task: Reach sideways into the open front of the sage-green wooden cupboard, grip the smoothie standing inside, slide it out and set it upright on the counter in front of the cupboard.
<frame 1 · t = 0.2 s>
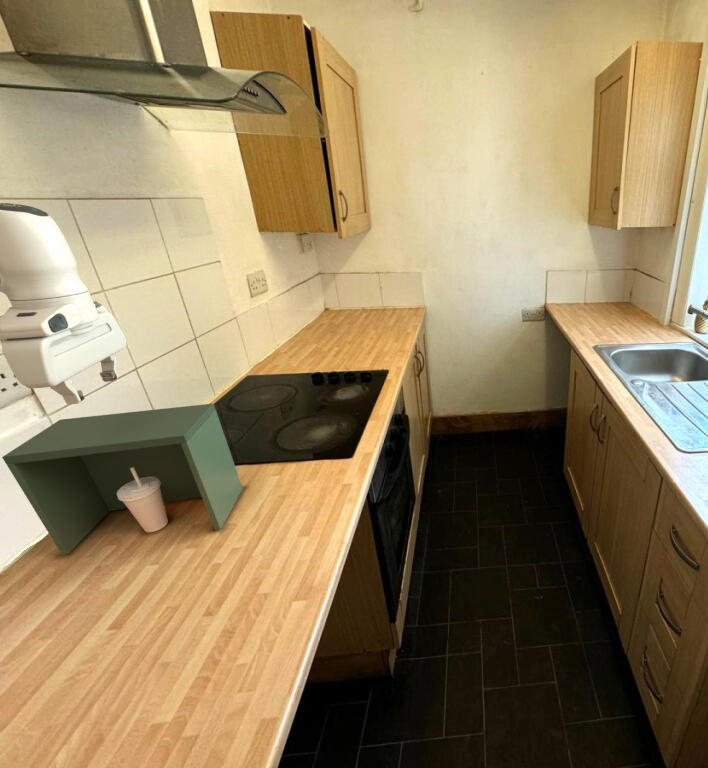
hand: (95, 390, 72), 29 cm above the table, tool pointing down, fingers open, 8 cm apart
cupboard: (161, 518, 85), on the table
smoothie: (156, 526, 83), on the table
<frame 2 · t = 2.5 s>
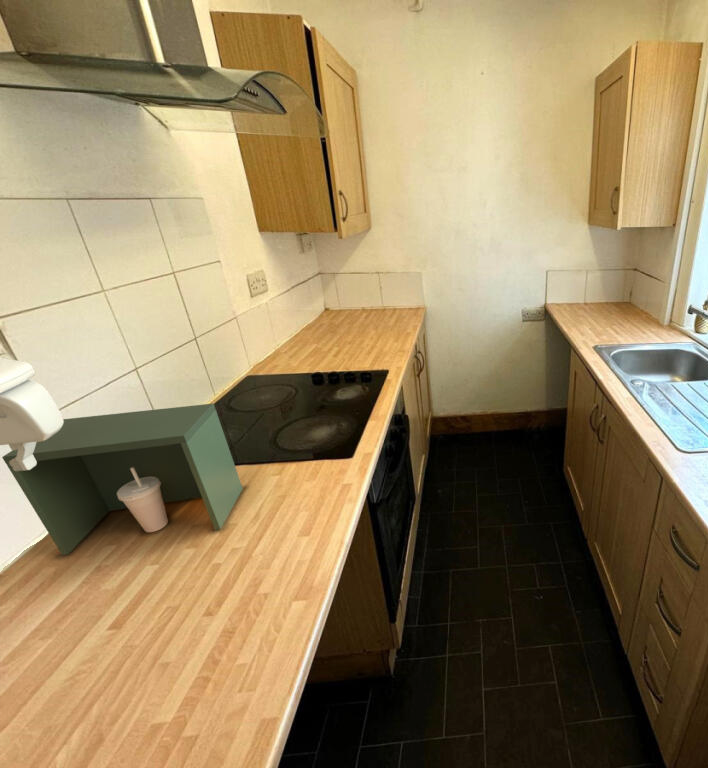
nothing on the table moved.
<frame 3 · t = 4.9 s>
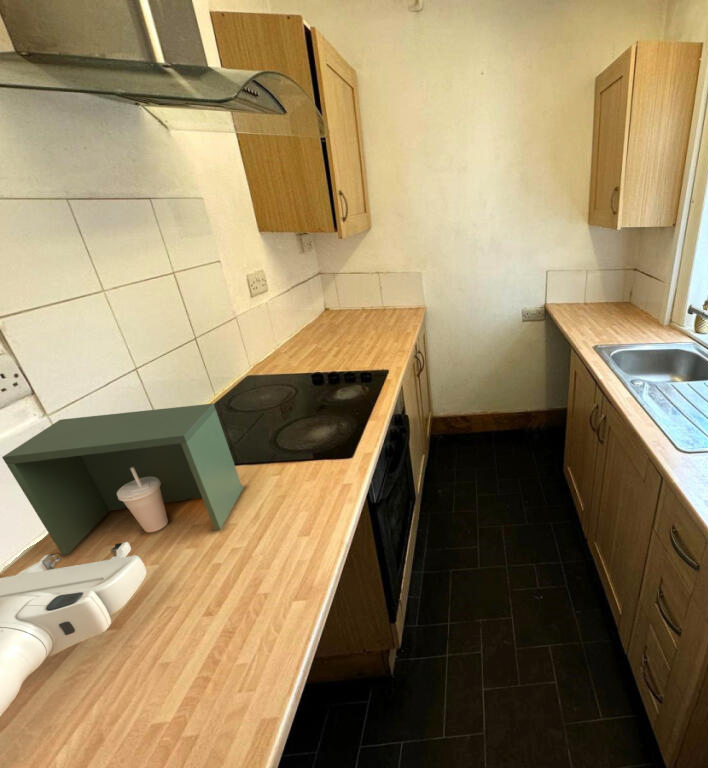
hand: (90, 551, 66), 8 cm above the table, tool horizontal, fingers open, 8 cm apart
nothing on the table moved.
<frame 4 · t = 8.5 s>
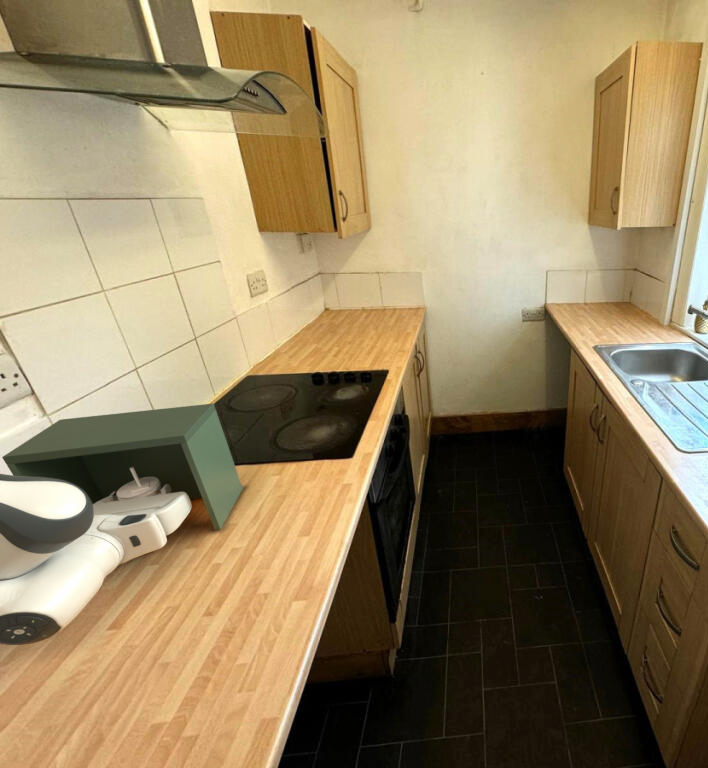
hand: (143, 490, 80), 8 cm above the table, tool horizontal, fingers closed on smoothie, 6 cm apart
smoothie: (156, 526, 83), on the table, touching gripper
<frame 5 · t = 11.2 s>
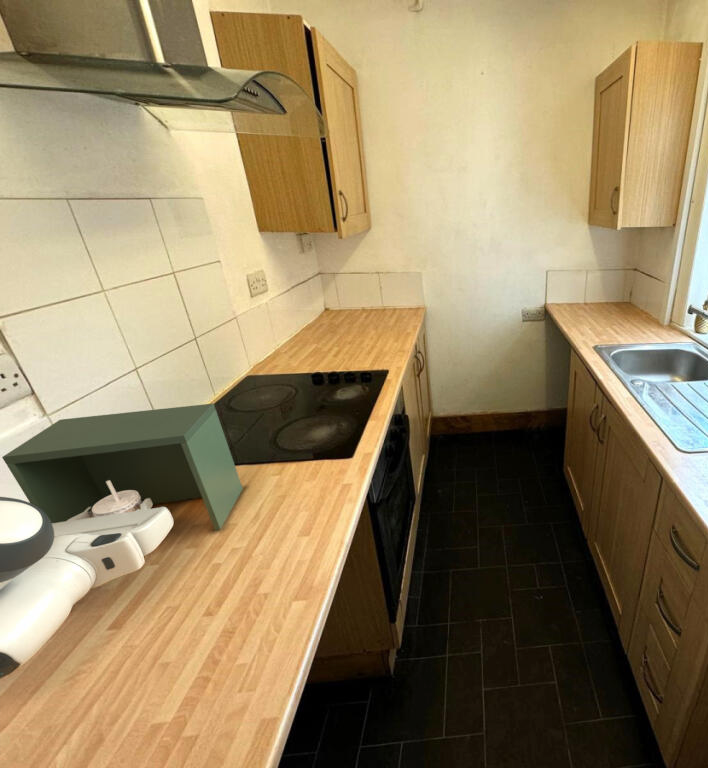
hand: (122, 505, 74), 9 cm above the table, tool horizontal, fingers closed on smoothie, 6 cm apart
smoothie: (137, 543, 77), point 1 cm above the table, touching gripper
when the fingers open (8 cm above the table, at t = 14.2 s): smoothie stays where it is, on the table.
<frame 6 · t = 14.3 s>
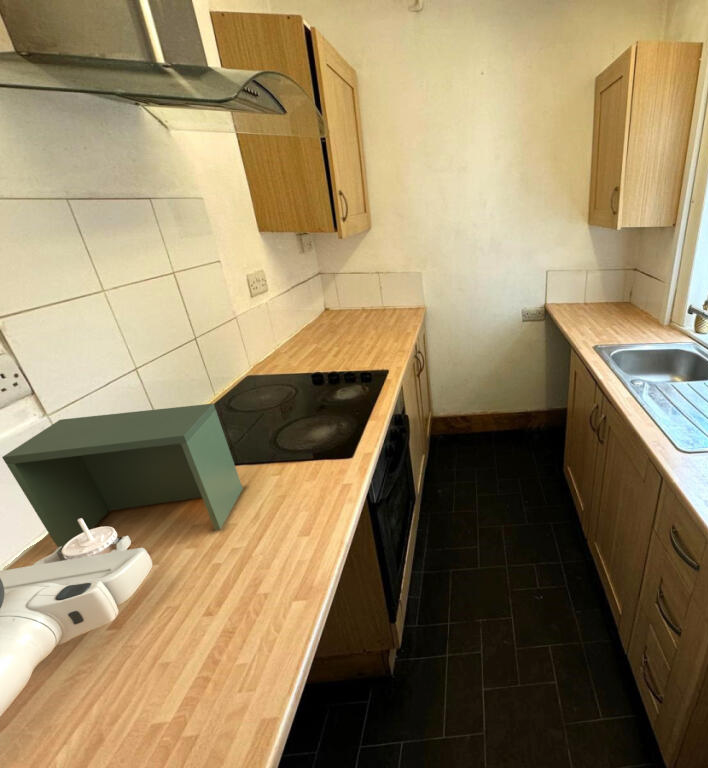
hand: (96, 543, 68), 8 cm above the table, tool horizontal, fingers open, 6 cm apart
smoothie: (113, 584, 70), on the table
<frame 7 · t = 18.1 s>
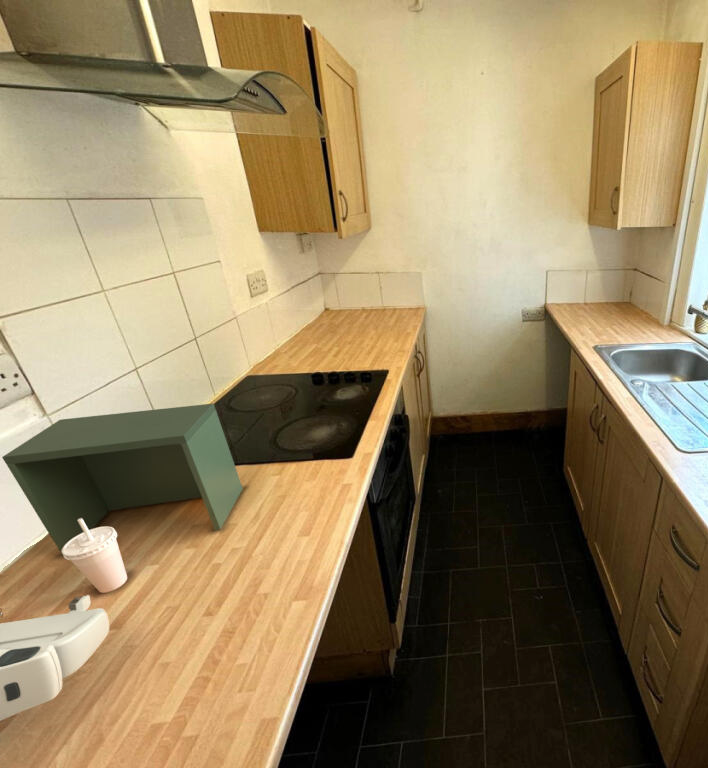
hand: (41, 606, 58), 7 cm above the table, tool horizontal, fingers open, 8 cm apart
nothing on the table moved.
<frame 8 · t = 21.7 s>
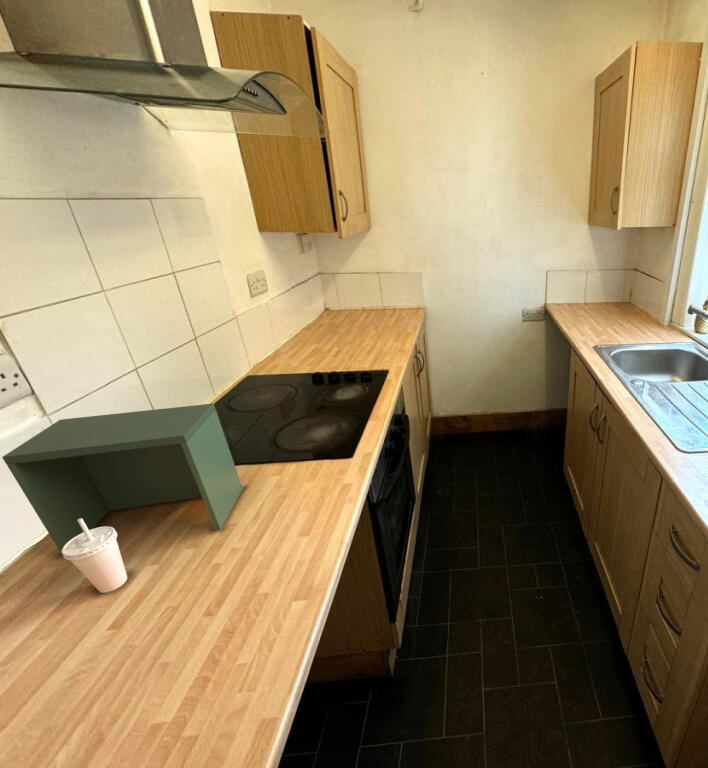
nothing on the table moved.
at the end: smoothie inside the target area (0.4 cm from its centre), on the table; smoothie tilted 0°; the gripper is holding nothing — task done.
